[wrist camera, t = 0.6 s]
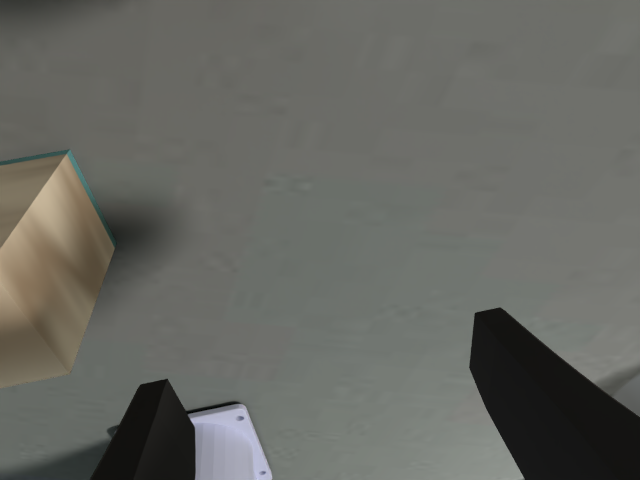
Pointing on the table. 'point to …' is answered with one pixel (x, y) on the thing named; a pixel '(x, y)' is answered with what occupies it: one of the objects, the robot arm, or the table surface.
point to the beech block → (47, 265)
